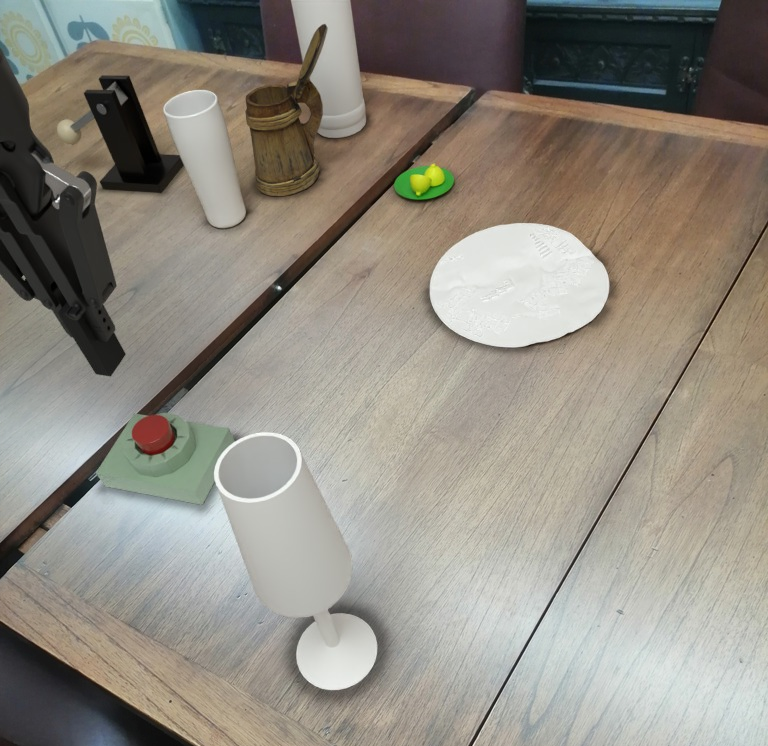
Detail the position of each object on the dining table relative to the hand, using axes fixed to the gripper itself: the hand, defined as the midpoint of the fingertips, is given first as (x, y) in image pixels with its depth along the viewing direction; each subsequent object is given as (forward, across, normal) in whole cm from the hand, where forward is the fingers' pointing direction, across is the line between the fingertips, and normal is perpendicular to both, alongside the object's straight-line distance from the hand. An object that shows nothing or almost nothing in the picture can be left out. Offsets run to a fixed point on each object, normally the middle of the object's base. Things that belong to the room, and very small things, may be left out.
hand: (110, 364), depth 59 cm
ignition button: (+10, 0, 0) cm, 10 cm away
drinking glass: (+14, -12, +41) cm, 45 cm away
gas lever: (+7, -34, +50) cm, 61 cm away
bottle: (+14, -4, +66) cm, 67 cm away
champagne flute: (+13, +23, -15) cm, 31 cm away
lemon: (+14, +13, +51) cm, 54 cm away
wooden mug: (+14, -5, +52) cm, 54 cm away
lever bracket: (+14, -30, +50) cm, 60 cm away
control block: (+14, 0, 0) cm, 14 cm away
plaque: (+14, +29, +32) cm, 45 cm away
